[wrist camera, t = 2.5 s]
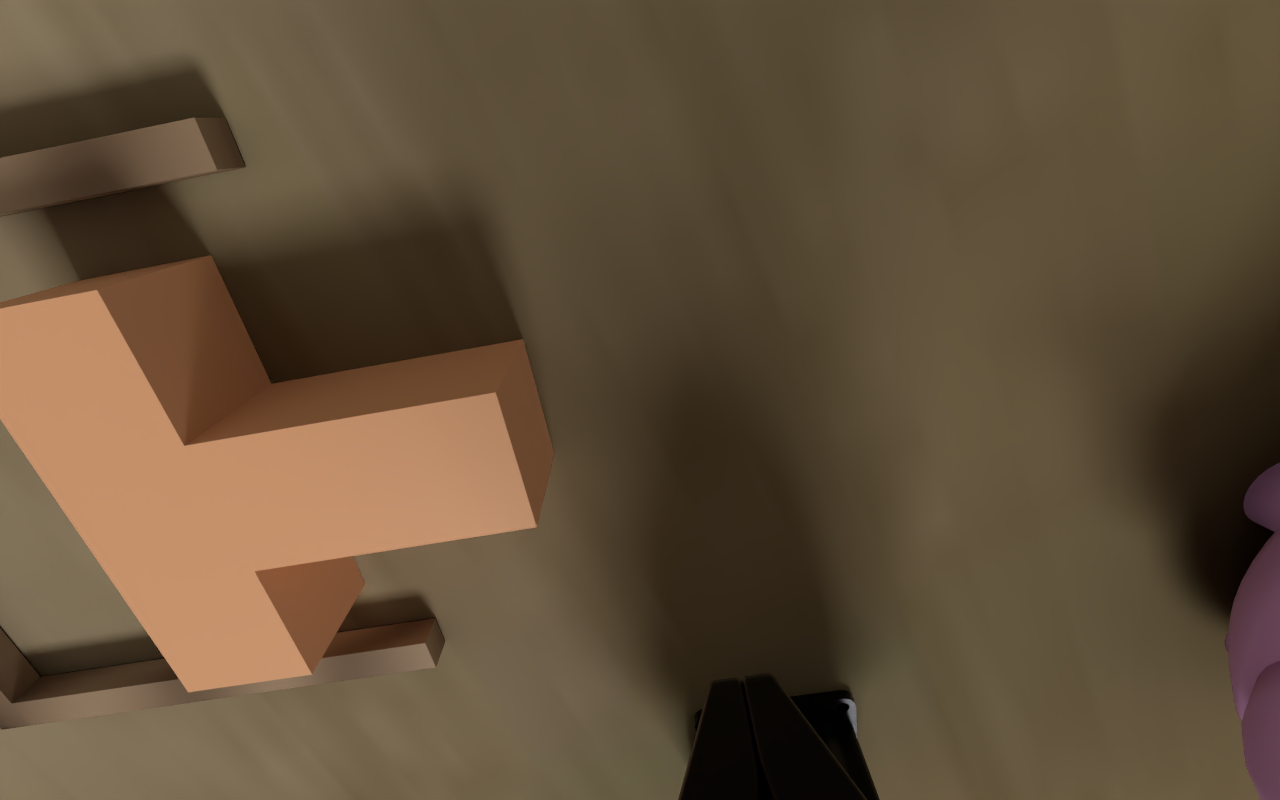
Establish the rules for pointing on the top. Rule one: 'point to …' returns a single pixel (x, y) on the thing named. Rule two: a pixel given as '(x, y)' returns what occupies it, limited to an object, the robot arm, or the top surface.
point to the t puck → (253, 462)
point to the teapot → (1259, 642)
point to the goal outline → (19, 697)
